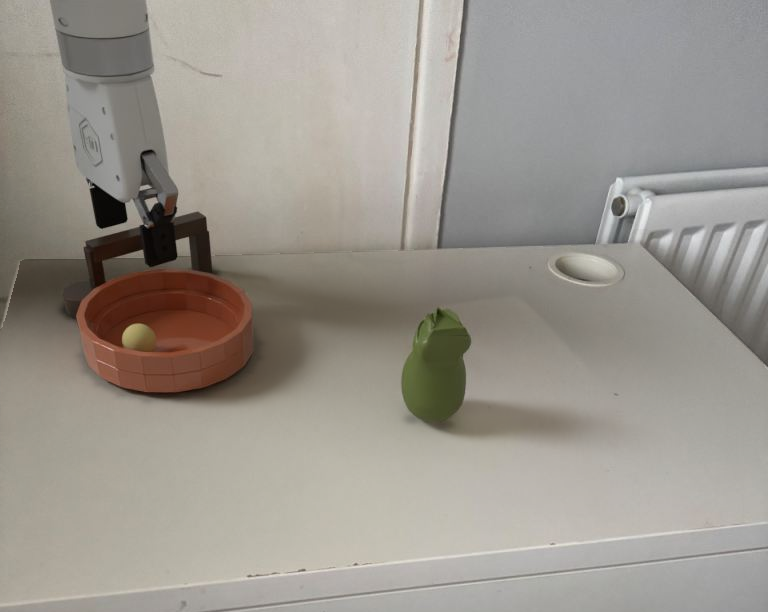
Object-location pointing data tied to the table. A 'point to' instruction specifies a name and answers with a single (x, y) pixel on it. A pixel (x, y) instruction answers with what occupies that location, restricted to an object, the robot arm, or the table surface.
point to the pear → (436, 367)
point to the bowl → (167, 329)
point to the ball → (139, 338)
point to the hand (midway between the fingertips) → (136, 243)
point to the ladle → (131, 242)
